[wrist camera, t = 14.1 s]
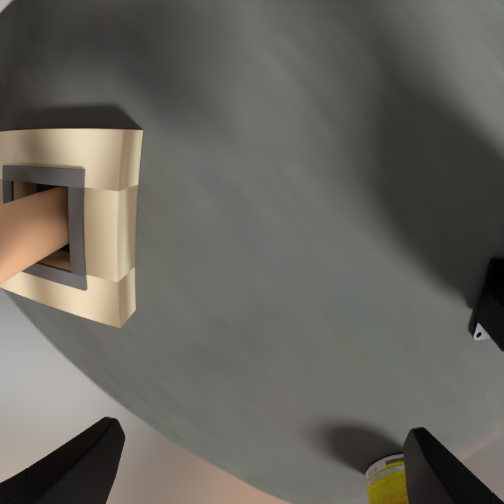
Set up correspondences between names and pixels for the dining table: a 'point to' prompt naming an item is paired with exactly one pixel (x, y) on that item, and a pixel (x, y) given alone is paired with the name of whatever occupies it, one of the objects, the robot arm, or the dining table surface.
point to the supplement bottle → (387, 481)
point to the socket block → (80, 216)
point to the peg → (32, 229)
